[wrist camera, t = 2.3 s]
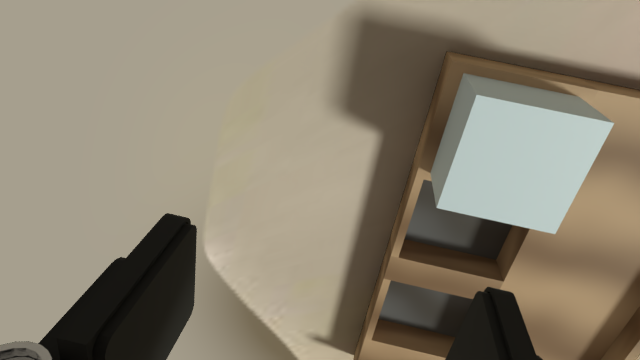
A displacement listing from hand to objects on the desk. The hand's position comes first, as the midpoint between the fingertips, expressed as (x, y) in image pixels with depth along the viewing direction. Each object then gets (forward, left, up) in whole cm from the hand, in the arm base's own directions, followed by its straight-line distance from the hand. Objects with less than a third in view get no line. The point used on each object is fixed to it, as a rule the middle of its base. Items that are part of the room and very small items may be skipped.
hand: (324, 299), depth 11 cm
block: (0, +8, -15) cm, 17 cm away
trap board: (+9, +12, -18) cm, 23 cm away
